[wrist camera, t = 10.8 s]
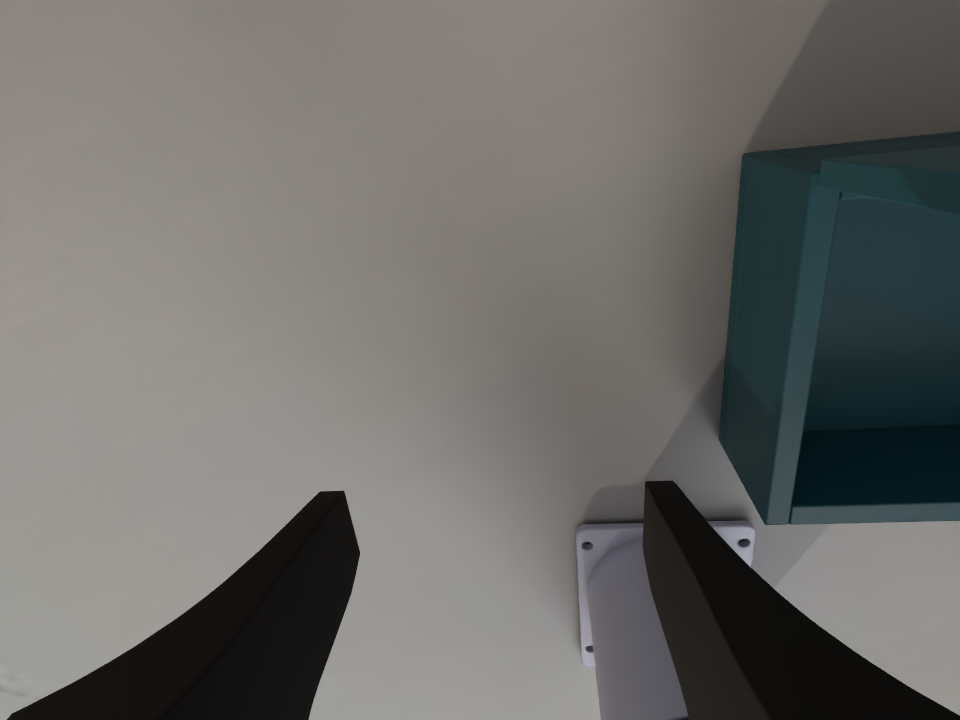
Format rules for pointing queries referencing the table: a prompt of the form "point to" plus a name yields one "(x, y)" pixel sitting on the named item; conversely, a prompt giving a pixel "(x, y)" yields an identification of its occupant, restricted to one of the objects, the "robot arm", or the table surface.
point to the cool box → (842, 346)
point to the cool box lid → (899, 177)
